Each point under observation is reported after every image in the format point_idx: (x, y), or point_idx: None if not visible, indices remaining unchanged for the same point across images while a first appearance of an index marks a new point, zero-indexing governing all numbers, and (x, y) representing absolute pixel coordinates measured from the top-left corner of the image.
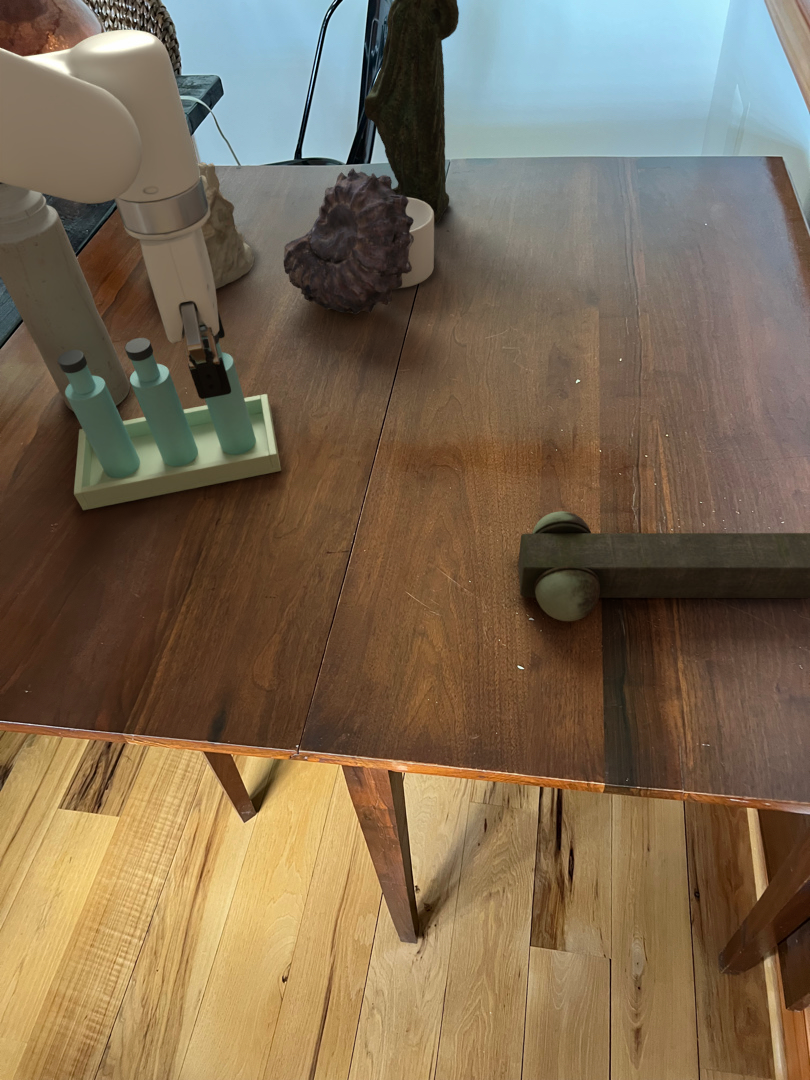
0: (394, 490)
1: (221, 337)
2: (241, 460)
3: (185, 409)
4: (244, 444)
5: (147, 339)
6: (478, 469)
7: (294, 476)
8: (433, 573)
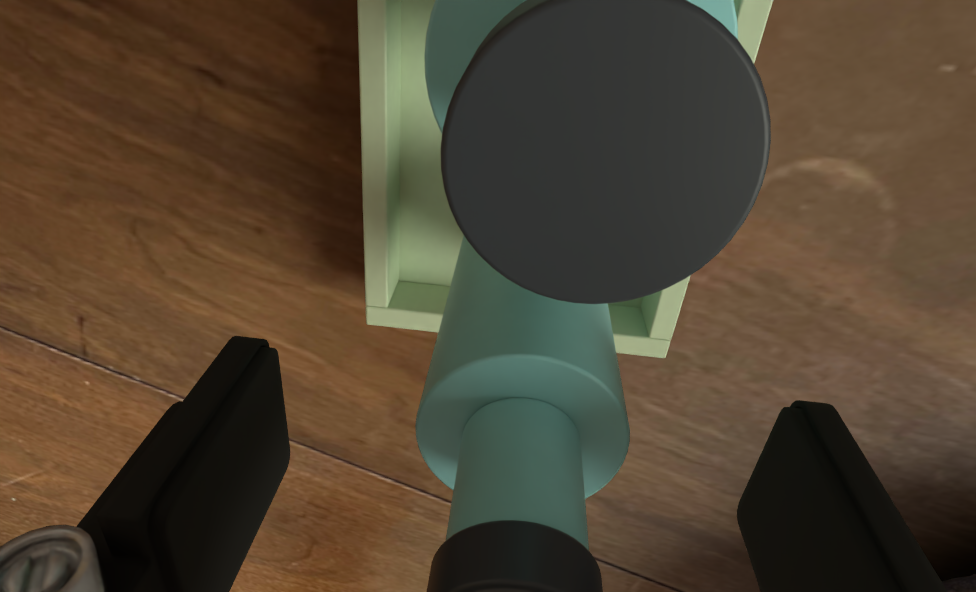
0: None
1: (740, 506)
2: (365, 226)
3: None
4: None
5: (664, 286)
6: (285, 587)
7: (352, 311)
8: (28, 462)
